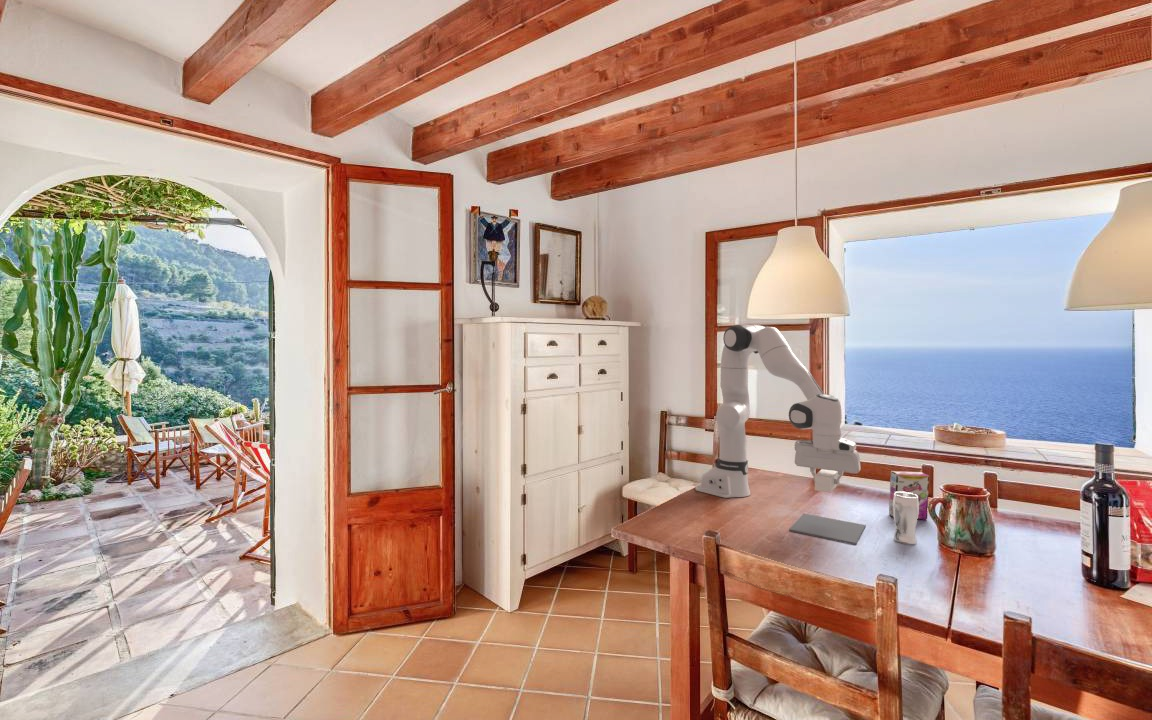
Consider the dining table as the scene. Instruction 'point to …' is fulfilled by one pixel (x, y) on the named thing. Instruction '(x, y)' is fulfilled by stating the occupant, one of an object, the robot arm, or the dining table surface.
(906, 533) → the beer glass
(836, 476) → the white block
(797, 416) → the robot arm
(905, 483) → the candy bar box
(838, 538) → the rubber mat
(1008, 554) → the dining table surface
